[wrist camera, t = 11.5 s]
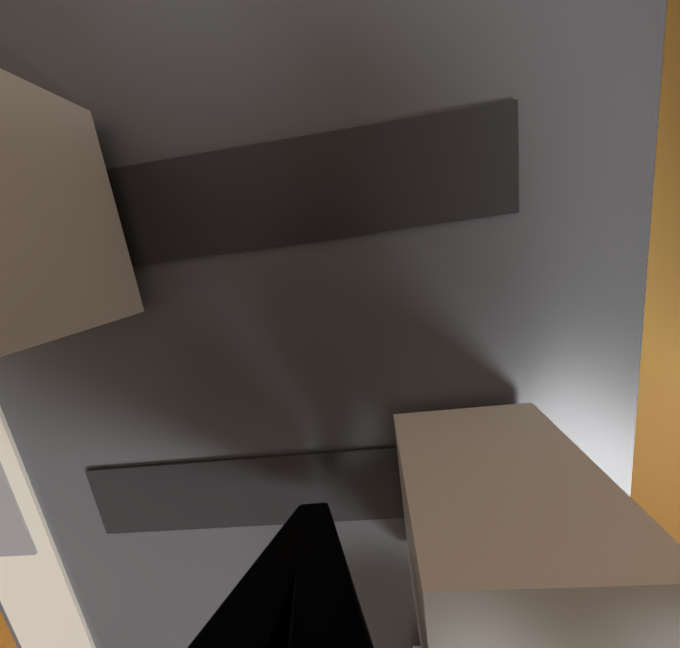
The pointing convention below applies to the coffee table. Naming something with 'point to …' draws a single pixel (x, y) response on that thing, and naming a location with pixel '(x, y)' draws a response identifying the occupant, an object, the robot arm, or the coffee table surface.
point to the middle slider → (527, 538)
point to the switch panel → (318, 283)
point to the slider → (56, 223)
